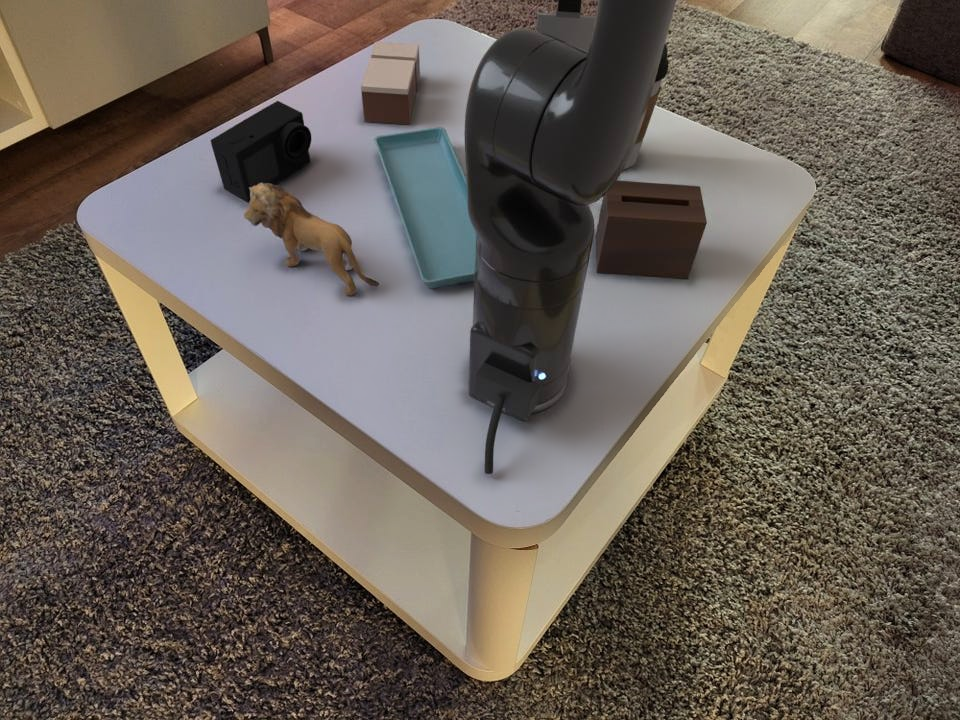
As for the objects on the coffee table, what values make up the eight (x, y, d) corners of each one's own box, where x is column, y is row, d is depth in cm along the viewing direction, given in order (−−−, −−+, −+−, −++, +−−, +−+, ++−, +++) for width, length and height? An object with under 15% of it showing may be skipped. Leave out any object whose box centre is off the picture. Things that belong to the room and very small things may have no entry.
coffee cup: (570, 163, 96) (586, 50, 84) (595, 129, 100) (614, 18, 89) (633, 184, 93) (658, 70, 82) (655, 148, 98) (683, 37, 86)
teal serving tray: (506, 281, 82) (507, 264, 80) (423, 297, 80) (422, 280, 78) (444, 142, 98) (444, 125, 96) (374, 153, 96) (372, 136, 94)
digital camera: (255, 208, 88) (242, 157, 83) (223, 189, 90) (209, 139, 85) (318, 165, 94) (310, 115, 88) (287, 149, 96) (277, 99, 90)
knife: (586, 105, 81) (609, -51, 69) (530, 101, 81) (543, -56, 69) (585, 93, 82) (608, -61, 70) (530, 89, 83) (544, -66, 70)
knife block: (688, 279, 83) (707, 222, 77) (596, 272, 83) (608, 215, 77) (682, 242, 87) (700, 185, 80) (595, 236, 87) (606, 179, 81)
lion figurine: (249, 262, 82) (230, 195, 76) (276, 233, 86) (261, 166, 79) (367, 304, 79) (359, 238, 72) (391, 272, 82) (386, 206, 75)
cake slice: (417, 92, 105) (415, 57, 101) (373, 89, 105) (370, 54, 101) (420, 79, 107) (418, 44, 103) (377, 76, 107) (375, 41, 103)
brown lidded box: (409, 125, 100) (407, 89, 96) (364, 122, 100) (360, 85, 96) (416, 96, 104) (414, 60, 100) (373, 93, 104) (369, 57, 100)
